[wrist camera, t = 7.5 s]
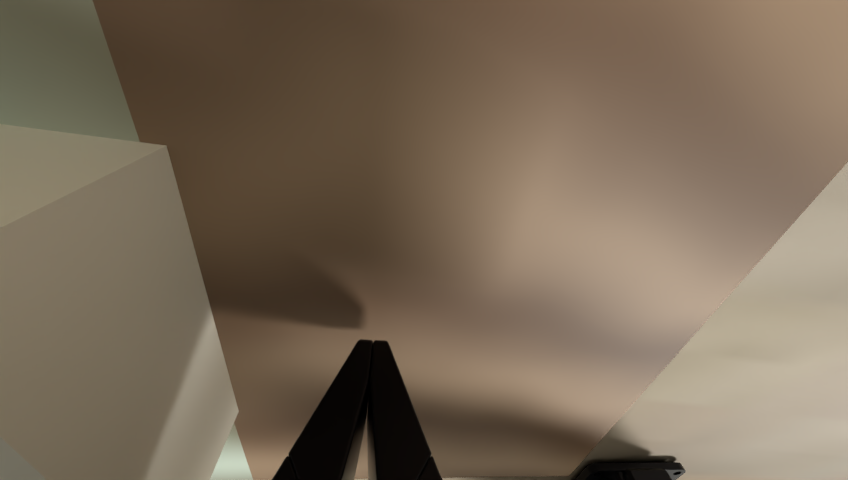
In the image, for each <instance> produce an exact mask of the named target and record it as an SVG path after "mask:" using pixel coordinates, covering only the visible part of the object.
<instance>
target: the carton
mask: <svg viewBox="0 0 848 480" xmlns="http://www.w3.org/2000/svg"><path fill="white" fill-rule="evenodd" d="M238 412H239V410H238V407H237V403H236V399H235V396H234V392H233V388H232V385H231V381H230V377H229V373H228V370H227V366H226V362H225V359H224V355H223V351H222V348H221V344H220V340H219V337H218V333H217V329H216V326H215V322H214V318H213V315H212V311H211V307H210V304H209V300H208V296H207V293H206V289H205V285H204V282H203V278H202V274H201V271H200V267H199V263H198V260H197V256H196V252H195V249H194V245H193V241H192V238H191V234H190V230H189V226H188V223H187V219H186V215H185V212H184V208H183V204H182V201H181V197H180V193H179V190H178V186H177V182H176V179H175V175H174V171H173V168H172V164H171V160H170V157H169V153H168V149H167V146H166V145H158V144H151V143H143V142H135V141H128V140H120V139H112V138H104V137H97V136H89V135H81V134H74V133H66V132H58V131H51V130H43V129H35V128H27V127H20V126H12V125H4V124H0V480H210V478H211V476H212V474H213V471H214V469H215V466H216V464H217V462H218V459H219V457H220V455H221V452H222V450H223V447H224V445H225V443H226V440H227V438H228V436H229V433H230V431H231V429H232V426H233V424H234V421H235V419H236V417H237V414H238Z"/></svg>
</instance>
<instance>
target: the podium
mask: <svg viewBox="0 0 848 480" xmlns="http://www.w3.org/2000/svg"><path fill="white" fill-rule="evenodd" d="M0 124H4V125H12V126H20V127H27V128H35V129H43V130H51V131H58V132H66V133H74V134H81V135H89V136H97V137H104V138H112V139H120V140H128V141H135V142H143V143H151V144H158V145H166V146H167V149H168V153H169V157H170V160H171V164H172V168H173V171H174V175H175V179H176V182H177V186H178V190H179V193H180V197H181V201H182V204H183V208H184V212H185V215H186V219H187V223H188V226H189V230H190V234H191V238H192V241H193V245H194V249H195V252H196V256H197V260H198V263H199V267H200V271H201V274H202V278H203V282H204V285H205V289H206V293H207V296H208V300H209V304H210V307H211V311H212V315H213V318H214V322H215V326H216V329H217V333H218V337H219V340H220V344H221V348H222V351H223V355H224V359H225V362H226V366H227V370H228V373H229V377H230V381H231V385H232V388H233V392H234V396H235V399H236V403H237V407H238V410H239V412H238V414H237V417H236V419H235V421H234V424H233V426H232V429H231V431H230V433H229V436H228V438H227V440H226V443H225V445H224V447H223V450H222V452H221V455H220V457H219V459H218V462H217V464H216V466H215V469H214V471H213V474H212V476H211V478H210V480H272V478H273V477H274V475H275V474H276V472H277V470H278V469H279V467H280V466H281V464H282V462H283V461H284V459H285V458H286V457H287V456H288V453H289V451H290V450H291V448H292V446H293V445H294V443H295V442H296V440H297V438H298V437H299V435H300V434H301V432H302V430H303V429H304V427H305V425H306V424H307V422H308V421H309V419H310V417H311V416H312V414H313V412H314V411H315V409H316V408H317V406H318V404H319V403H320V401H321V400H322V398H323V396H324V395H325V393H326V391H327V390H328V388H329V387H330V385H331V383H332V382H333V380H334V379H335V377H336V375H337V374H338V372H339V370H340V369H341V367H342V366H343V364H344V362H345V361H346V359H347V357H348V356H349V354H350V353H351V351H352V349H353V348H354V346H355V345H356V343H357V341H358V340H360V339H365V340H372V341H373V342H374V341H375V340H386V341H388V343H389V345H390V348H391V350H392V353H393V355H394V358H395V361H396V363H397V366H398V368H399V371H400V373H401V376H402V378H403V381H404V384H405V386H406V389H407V391H408V394H409V396H410V399H411V402H412V404H413V407H414V409H415V412H416V414H417V417H418V419H419V422H420V425H421V427H422V430H423V432H424V435H425V437H426V440H427V443H428V445H429V448H430V450H431V453H432V455H431V456H433V458H434V460H435V463H436V465H437V468H438V470H439V473H440V475H441V478H445V477H525V476H569V475H570V474H571V473H572V472H573V471H574V470H575V469H576V468H577V466H578V465H579V464H580V463H581V462H582V461H583V460H584V458H585V457H586V456H587V455H588V454H589V453H590V452H591V451H592V449H593V448H594V447H595V446H596V445H597V444H598V443H599V442H600V440H601V439H602V438H603V437H604V436H605V435H606V434H607V433H608V431H609V430H610V429H611V428H612V427H613V426H614V425H615V424H616V422H617V421H618V420H619V419H620V418H621V417H622V416H623V415H624V413H625V412H626V411H627V410H628V409H629V408H630V407H631V406H632V404H633V403H634V402H635V401H636V400H637V399H638V398H639V396H640V395H641V394H642V393H643V392H644V391H645V390H646V389H647V387H648V386H649V385H650V384H651V383H652V382H653V381H654V380H655V378H656V377H657V376H658V375H659V374H660V373H661V372H662V371H663V369H664V368H665V367H666V366H667V365H668V364H669V363H670V362H671V360H672V359H673V358H674V357H675V356H676V355H677V354H678V353H679V351H680V350H681V349H682V348H683V347H684V346H685V345H686V344H687V342H688V341H689V340H690V339H691V338H692V337H693V336H694V334H695V333H696V332H697V331H698V330H699V329H700V328H701V327H702V325H703V324H704V323H705V322H706V321H707V320H708V319H709V318H710V316H711V315H712V314H713V313H714V312H715V311H716V310H717V309H718V307H719V306H720V305H721V304H722V303H723V302H724V301H725V300H726V298H727V297H728V296H729V295H730V294H731V293H732V292H733V291H734V289H735V288H736V287H737V286H738V285H739V284H740V283H741V282H742V280H743V279H744V278H745V277H746V276H747V275H748V274H749V273H750V271H751V270H752V269H753V268H754V267H755V266H756V265H757V263H758V262H759V261H760V260H761V259H762V258H763V257H764V256H765V254H766V253H767V252H768V251H769V250H770V249H771V248H772V247H773V245H774V244H775V243H776V242H777V241H778V240H779V239H780V238H781V236H782V235H783V234H784V233H785V232H786V231H787V230H788V229H789V227H790V226H791V225H792V224H793V223H794V222H795V221H796V220H797V218H798V217H799V216H800V215H801V214H802V213H803V212H804V211H805V209H806V208H807V207H808V206H809V205H810V204H811V203H812V201H813V200H814V199H815V198H816V197H817V196H818V195H819V194H820V192H821V191H822V190H823V189H824V188H825V187H826V186H827V185H828V183H829V182H830V181H831V180H832V179H833V178H834V177H835V176H836V174H837V173H838V172H839V171H840V170H841V169H842V168H843V167H844V165H845V164H846V163H847V162H848V0H0ZM367 411H368V408H367ZM365 478H368V450H367V417H366V424H365V429H364V434H363V439H362V444H361V449H360V454H359V459H358V463H357V468H356V473H355V478H354V479H365Z"/></svg>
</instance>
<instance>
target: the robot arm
mask: <svg viewBox="0 0 848 480" xmlns="http://www.w3.org/2000/svg"><path fill="white" fill-rule="evenodd" d="M367 408H368V411H367ZM366 417H367V450H368V480H442V478H441V475H440V473H439V470H438V468H437V465H436V463H435V460H434V458H433V456H431V455H432V453H431V450H430V448H429V445H428V443H427V440H426V437H425V435H424V432H423V430H422V427H421V425H420V422H419V419H418V417H417V414H416V412H415V409H414V407H413V404H412V402H411V399H410V396H409V394H408V391H407V389H406V386H405V384H404V381H403V378H402V376H401V373H400V371H399V368H398V366H397V363H396V361H395V358H394V355H393V353H392V350H391V348H390V345H389V343H388V341H386V340H375V341H374V342H373V341H372V340H365V339H360V340H358V341H357V343H356V345H355V346H354V348H353V349H352V351H351V353H350V354H349V356H348V357H347V359H346V361H345V362H344V364H343V366H342V367H341V369H340V370H339V372H338V374H337V375H336V377H335V379H334V380H333V382H332V383H331V385H330V387H329V388H328V390H327V391H326V393H325V395H324V396H323V398H322V400H321V401H320V403H319V404H318V406H317V408H316V409H315V411H314V412H313V414H312V416H311V417H310V419H309V421H308V422H307V424H306V425H305V427H304V429H303V430H302V432H301V434H300V435H299V437H298V438H297V440H296V442H295V443H294V445H293V446H292V448H291V450H290V451H289V453H288V456H287V457H286V458H285V459H284V461H283V462H282V464H281V466H280V467H279V469H278V470H277V472H276V474H275V475H274V477H273V478H272V480H354V478H355V473H356V468H357V463H358V459H359V454H360V449H361V444H362V439H363V434H364V429H365V424H366ZM684 473H685V469H684V468H683V466H682V465H681V463H594V464H591V465H589V466H587V467H586V468H585V469H584V471H583V472H582V473H581V474H580V475H579V476H578V477H577V478H576V479H575V480H676V479H677V478H679V477H680V476H681V475H682V474H684Z"/></svg>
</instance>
